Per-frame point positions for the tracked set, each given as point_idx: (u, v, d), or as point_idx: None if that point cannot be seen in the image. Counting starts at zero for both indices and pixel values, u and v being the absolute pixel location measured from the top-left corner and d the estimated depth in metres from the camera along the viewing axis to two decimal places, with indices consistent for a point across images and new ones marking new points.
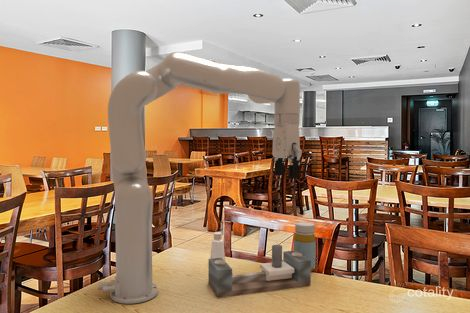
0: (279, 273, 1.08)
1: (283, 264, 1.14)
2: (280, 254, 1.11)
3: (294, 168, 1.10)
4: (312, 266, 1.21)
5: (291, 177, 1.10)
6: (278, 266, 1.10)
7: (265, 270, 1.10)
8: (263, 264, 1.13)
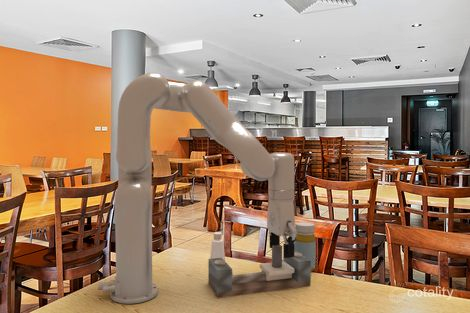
0: (279, 273, 1.08)
1: (283, 264, 1.14)
2: (280, 254, 1.11)
3: (289, 247, 1.06)
4: (312, 266, 1.21)
5: (286, 256, 1.07)
6: (278, 266, 1.10)
7: (265, 270, 1.10)
8: (263, 264, 1.13)
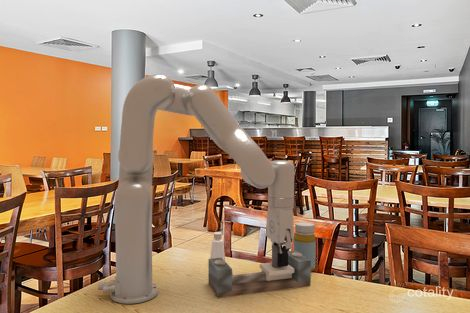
0: (279, 273, 1.08)
1: None
2: None
3: (283, 256, 1.09)
4: (312, 266, 1.21)
5: (280, 265, 1.10)
6: None
7: (265, 270, 1.10)
8: (263, 264, 1.13)
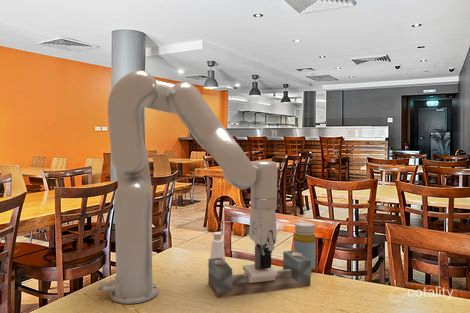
0: (261, 275, 1.07)
1: None
2: None
3: (265, 258, 1.08)
4: (312, 266, 1.21)
5: (263, 267, 1.08)
6: None
7: (247, 272, 1.08)
8: (246, 266, 1.12)
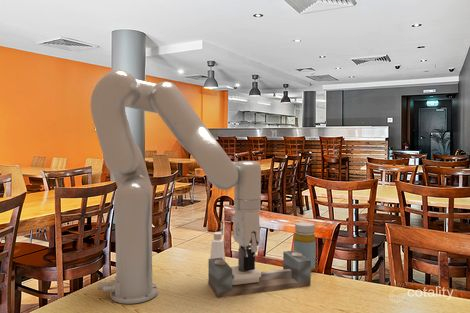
0: (245, 277, 1.05)
1: None
2: None
3: (249, 260, 1.06)
4: (312, 266, 1.21)
5: (246, 269, 1.07)
6: (244, 270, 1.07)
7: None
8: None
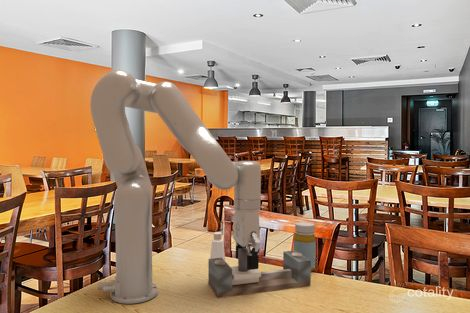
0: (245, 277, 1.05)
1: None
2: (246, 257, 1.07)
3: (253, 259, 1.03)
4: (312, 266, 1.21)
5: (250, 268, 1.04)
6: (244, 270, 1.07)
7: None
8: None
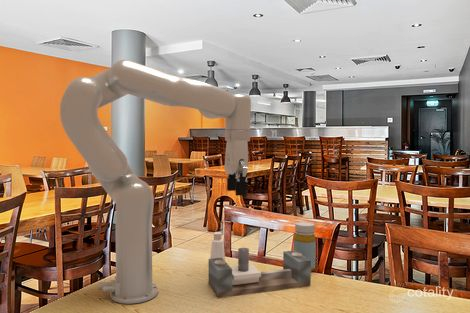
0: (245, 277, 1.05)
1: (250, 268, 1.10)
2: (246, 257, 1.07)
3: (241, 184, 1.09)
4: (312, 266, 1.21)
5: (238, 194, 1.10)
6: (244, 270, 1.07)
7: None
8: None
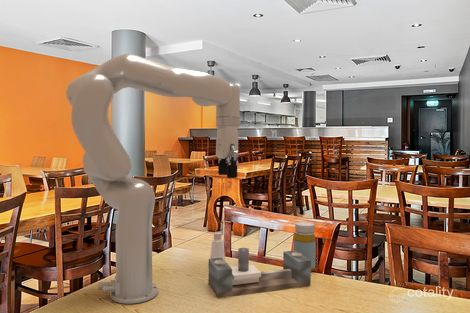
0: (245, 277, 1.05)
1: (250, 268, 1.10)
2: (246, 257, 1.07)
3: (232, 168, 1.17)
4: (312, 266, 1.21)
5: (229, 176, 1.17)
6: (244, 270, 1.07)
7: None
8: None
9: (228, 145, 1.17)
